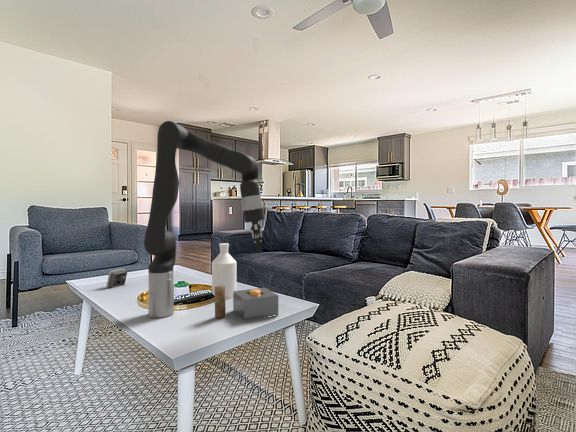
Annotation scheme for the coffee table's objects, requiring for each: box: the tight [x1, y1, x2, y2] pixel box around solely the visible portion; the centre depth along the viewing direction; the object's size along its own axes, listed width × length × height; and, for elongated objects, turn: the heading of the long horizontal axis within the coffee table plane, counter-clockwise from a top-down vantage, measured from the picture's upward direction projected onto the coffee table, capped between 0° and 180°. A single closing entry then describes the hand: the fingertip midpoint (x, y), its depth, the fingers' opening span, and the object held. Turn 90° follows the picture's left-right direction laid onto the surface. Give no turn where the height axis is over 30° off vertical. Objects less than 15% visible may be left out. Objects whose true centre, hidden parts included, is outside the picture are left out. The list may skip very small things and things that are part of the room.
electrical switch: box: [106, 268, 128, 289], centre depth 176 cm, size 9×5×9 cm, turn 159°
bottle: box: [211, 242, 238, 299], centre depth 157 cm, size 12×12×25 cm
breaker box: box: [232, 287, 279, 322], centre depth 130 cm, size 14×14×8 cm
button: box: [250, 288, 261, 296], centre depth 130 cm, size 4×4×6 cm
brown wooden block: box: [214, 285, 227, 320], centre depth 125 cm, size 4×4×12 cm
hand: (259, 251), depth 120 cm, fingers open, 8 cm apart
